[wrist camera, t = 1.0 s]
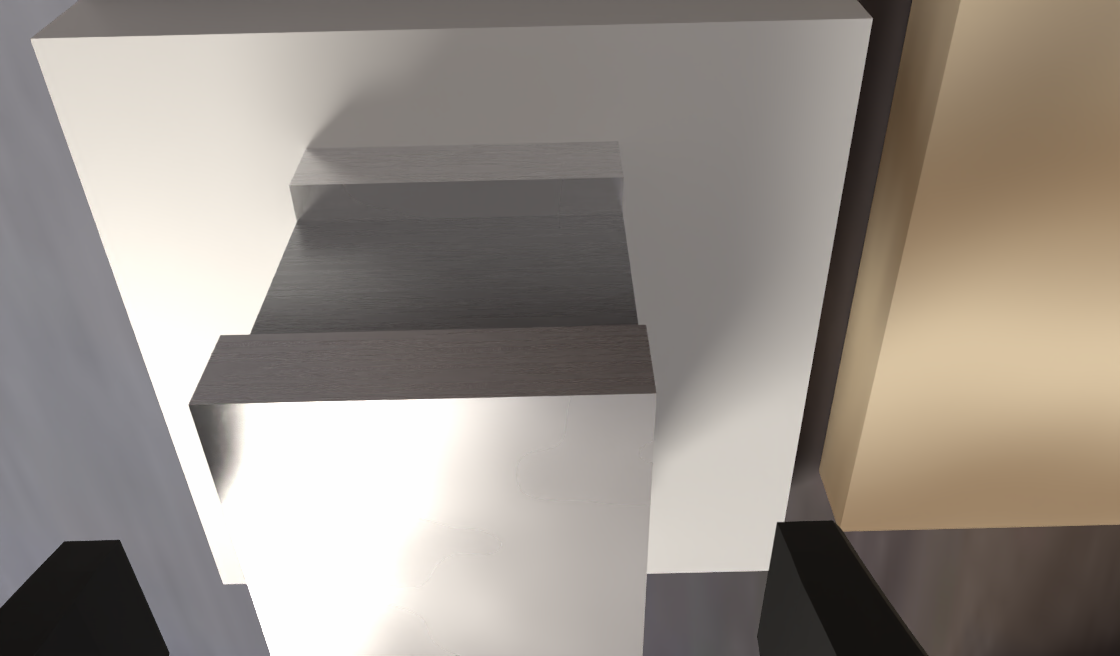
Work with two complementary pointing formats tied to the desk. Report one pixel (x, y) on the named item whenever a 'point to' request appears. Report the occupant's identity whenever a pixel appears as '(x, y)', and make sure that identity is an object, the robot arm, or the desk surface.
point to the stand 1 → (492, 118)
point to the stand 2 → (989, 280)
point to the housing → (442, 409)
